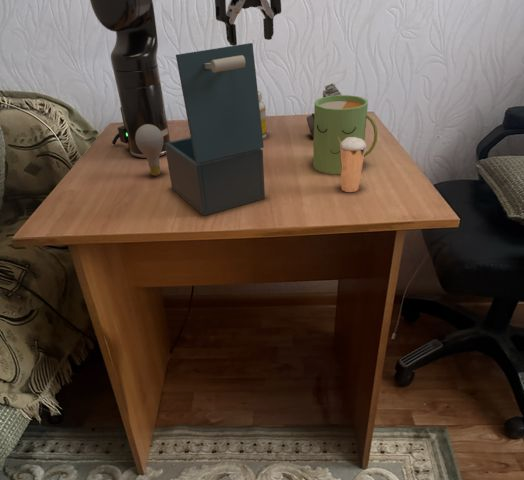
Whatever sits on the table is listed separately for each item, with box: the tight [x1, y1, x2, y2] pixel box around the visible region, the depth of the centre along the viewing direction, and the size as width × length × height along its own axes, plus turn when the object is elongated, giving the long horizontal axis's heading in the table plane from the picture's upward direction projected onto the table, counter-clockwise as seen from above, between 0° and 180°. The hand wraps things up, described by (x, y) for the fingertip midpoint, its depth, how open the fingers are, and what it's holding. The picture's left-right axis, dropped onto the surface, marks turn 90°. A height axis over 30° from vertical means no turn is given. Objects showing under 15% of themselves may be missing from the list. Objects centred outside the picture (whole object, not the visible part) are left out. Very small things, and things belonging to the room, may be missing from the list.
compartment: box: [165, 136, 266, 217], centre depth 90 cm, size 15×13×9 cm
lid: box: [175, 42, 265, 164], centre depth 76 cm, size 15×13×5 cm
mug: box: [312, 94, 378, 175], centre depth 97 cm, size 13×10×12 cm
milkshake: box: [338, 136, 367, 193], centre depth 89 cm, size 4×5×10 cm
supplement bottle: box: [258, 90, 268, 139], centre depth 114 cm, size 5×5×10 cm
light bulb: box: [135, 124, 164, 177], centre depth 98 cm, size 6×6×10 cm
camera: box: [306, 83, 342, 139], centre depth 113 cm, size 16×9×10 cm, turn 3°
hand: (250, 42), depth 105 cm, fingers open, 8 cm apart
